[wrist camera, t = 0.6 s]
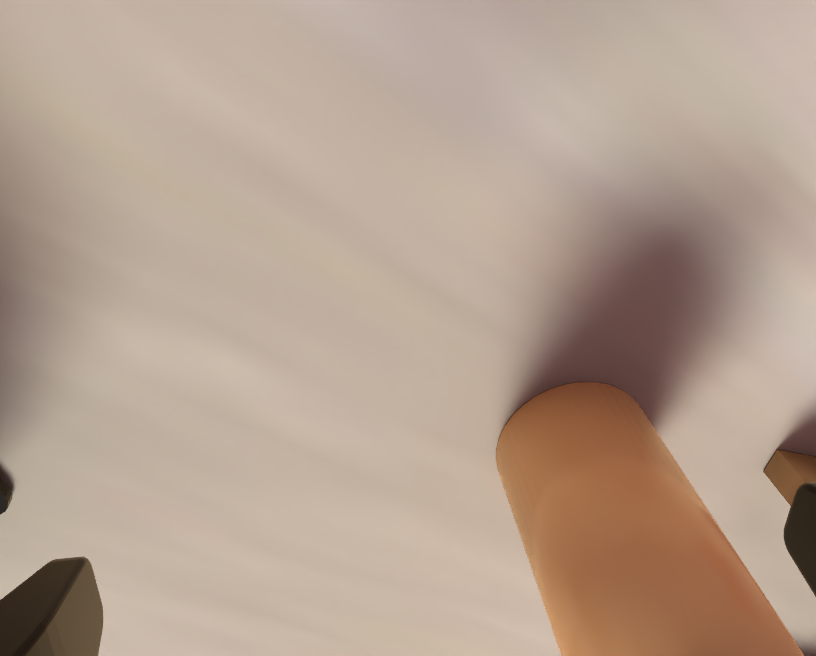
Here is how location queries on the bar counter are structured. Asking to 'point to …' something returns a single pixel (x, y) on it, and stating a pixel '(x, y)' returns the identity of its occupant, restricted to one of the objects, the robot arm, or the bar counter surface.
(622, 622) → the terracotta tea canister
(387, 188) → the bar counter surface
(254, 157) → the bar counter surface
